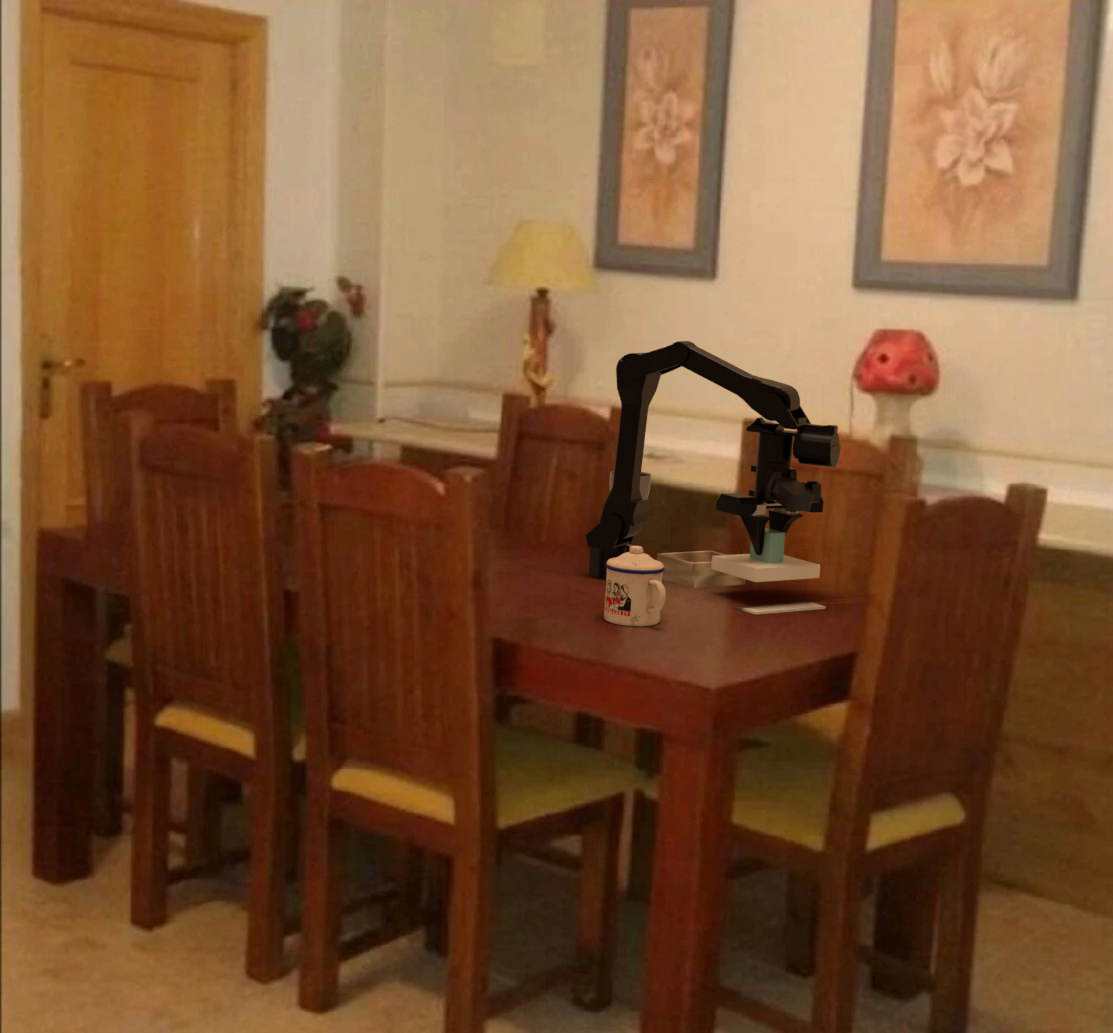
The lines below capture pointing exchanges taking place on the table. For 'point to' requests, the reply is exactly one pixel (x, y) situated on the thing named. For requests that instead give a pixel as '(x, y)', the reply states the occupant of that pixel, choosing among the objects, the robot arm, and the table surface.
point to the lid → (766, 562)
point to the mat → (781, 607)
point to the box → (695, 570)
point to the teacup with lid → (634, 589)
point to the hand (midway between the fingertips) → (766, 554)
